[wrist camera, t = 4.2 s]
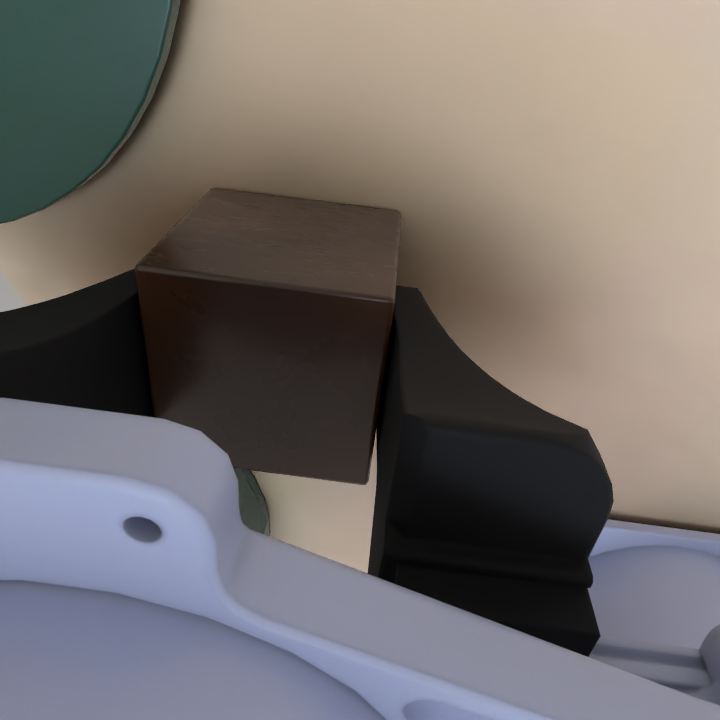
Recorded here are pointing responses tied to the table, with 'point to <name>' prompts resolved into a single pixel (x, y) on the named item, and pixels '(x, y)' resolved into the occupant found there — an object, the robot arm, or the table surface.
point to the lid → (73, 90)
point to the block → (273, 329)
